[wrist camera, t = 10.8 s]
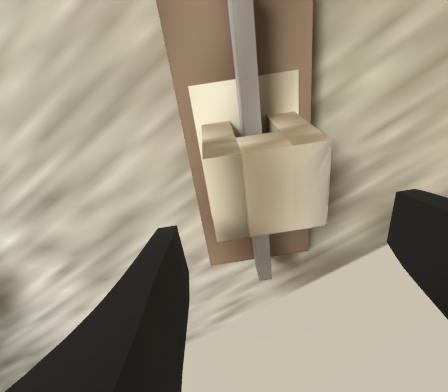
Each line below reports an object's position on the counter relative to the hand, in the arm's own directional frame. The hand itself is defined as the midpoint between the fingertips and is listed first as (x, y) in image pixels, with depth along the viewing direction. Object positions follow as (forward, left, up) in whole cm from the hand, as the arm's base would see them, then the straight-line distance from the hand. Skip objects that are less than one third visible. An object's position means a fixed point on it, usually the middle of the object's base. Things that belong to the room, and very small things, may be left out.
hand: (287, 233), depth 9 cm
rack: (0, 0, -9) cm, 9 cm away
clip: (0, 0, -8) cm, 8 cm away
